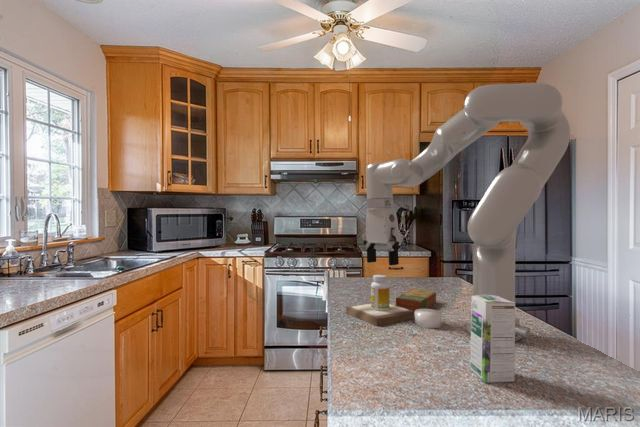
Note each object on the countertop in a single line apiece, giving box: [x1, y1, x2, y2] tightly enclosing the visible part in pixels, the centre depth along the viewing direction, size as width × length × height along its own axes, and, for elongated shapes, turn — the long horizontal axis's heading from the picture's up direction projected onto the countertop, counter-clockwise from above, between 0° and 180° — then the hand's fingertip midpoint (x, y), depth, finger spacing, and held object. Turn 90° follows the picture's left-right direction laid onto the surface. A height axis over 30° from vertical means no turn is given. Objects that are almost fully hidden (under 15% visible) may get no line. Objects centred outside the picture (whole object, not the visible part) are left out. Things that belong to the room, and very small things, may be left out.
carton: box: [395, 288, 437, 313], centre depth 118 cm, size 8×16×4 cm, turn 146°
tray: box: [345, 302, 415, 327], centre depth 106 cm, size 14×14×2 cm
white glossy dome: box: [414, 308, 443, 329], centre depth 98 cm, size 7×7×4 cm
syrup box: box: [470, 295, 516, 384], centre depth 67 cm, size 6×6×14 cm
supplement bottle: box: [370, 274, 390, 311], centre depth 106 cm, size 5×5×10 cm
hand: (382, 263), depth 106 cm, fingers open, 9 cm apart
